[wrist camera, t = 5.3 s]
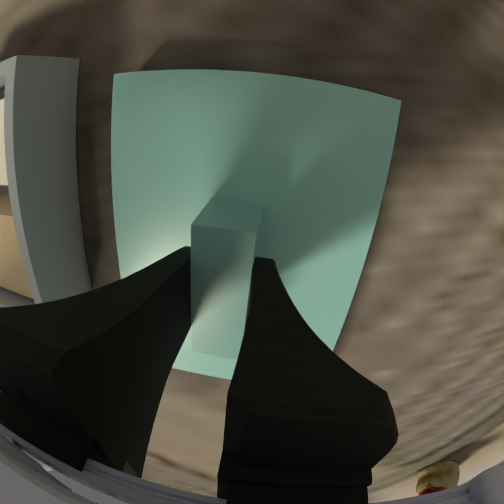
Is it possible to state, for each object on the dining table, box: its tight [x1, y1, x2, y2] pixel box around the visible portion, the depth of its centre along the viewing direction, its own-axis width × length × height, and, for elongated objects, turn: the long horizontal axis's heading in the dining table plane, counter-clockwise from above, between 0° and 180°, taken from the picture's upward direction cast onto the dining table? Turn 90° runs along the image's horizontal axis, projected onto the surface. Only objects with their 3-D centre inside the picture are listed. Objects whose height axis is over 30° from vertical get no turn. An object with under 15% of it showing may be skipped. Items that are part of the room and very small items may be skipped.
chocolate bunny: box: [416, 461, 459, 496], centre depth 19 cm, size 6×8×10 cm
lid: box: [111, 69, 401, 380], centre depth 11 cm, size 14×10×4 cm
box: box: [0, 55, 92, 308], centre depth 11 cm, size 12×8×4 cm, turn 174°
